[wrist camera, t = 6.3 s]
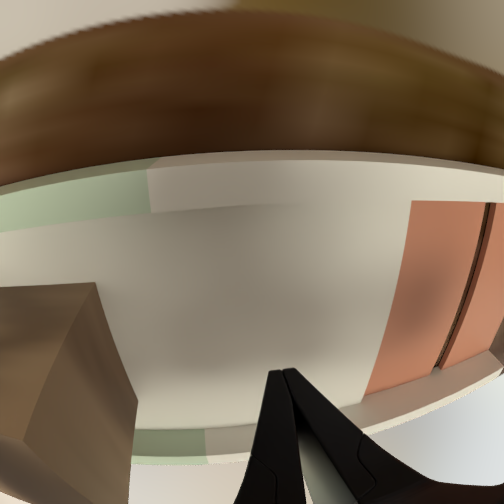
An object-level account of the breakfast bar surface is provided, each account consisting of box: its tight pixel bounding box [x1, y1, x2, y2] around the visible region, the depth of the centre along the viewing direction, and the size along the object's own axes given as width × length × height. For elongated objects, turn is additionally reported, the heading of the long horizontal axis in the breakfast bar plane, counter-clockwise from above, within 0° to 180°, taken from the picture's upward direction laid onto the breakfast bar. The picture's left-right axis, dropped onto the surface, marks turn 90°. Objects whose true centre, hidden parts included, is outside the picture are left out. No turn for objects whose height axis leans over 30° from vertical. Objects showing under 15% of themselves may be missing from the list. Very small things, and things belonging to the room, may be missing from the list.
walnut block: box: [0, 282, 138, 504], centre depth 7 cm, size 6×6×6 cm
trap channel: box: [0, 150, 504, 465], centre depth 10 cm, size 30×13×2 cm, turn 91°
